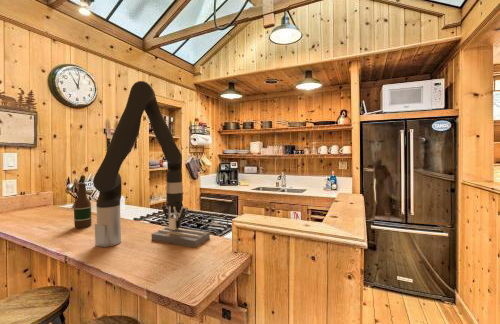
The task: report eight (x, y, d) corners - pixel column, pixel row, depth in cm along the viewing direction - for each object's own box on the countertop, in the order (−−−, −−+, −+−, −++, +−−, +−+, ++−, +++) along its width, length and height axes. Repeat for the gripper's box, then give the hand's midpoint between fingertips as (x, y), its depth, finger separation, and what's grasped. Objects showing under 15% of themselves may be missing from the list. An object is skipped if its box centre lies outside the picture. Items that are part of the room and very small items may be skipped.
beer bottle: (83, 229, 130) (81, 184, 128) (70, 228, 131) (69, 184, 130) (95, 225, 137) (93, 182, 136) (83, 224, 139) (82, 182, 138)
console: (195, 247, 105) (195, 238, 105) (151, 240, 114) (151, 231, 114) (209, 238, 117) (209, 230, 116) (169, 232, 125) (168, 224, 125)
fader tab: (174, 233, 114) (174, 219, 113) (169, 232, 115) (168, 218, 114) (180, 230, 118) (180, 216, 118) (175, 229, 119) (175, 215, 119)
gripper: (157, 191, 115) (157, 227, 115) (181, 193, 110) (182, 231, 110) (167, 189, 122) (168, 223, 122) (191, 191, 117) (192, 226, 117)
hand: (175, 227), depth 116 cm, fingers closed on fader tab, 3 cm apart
